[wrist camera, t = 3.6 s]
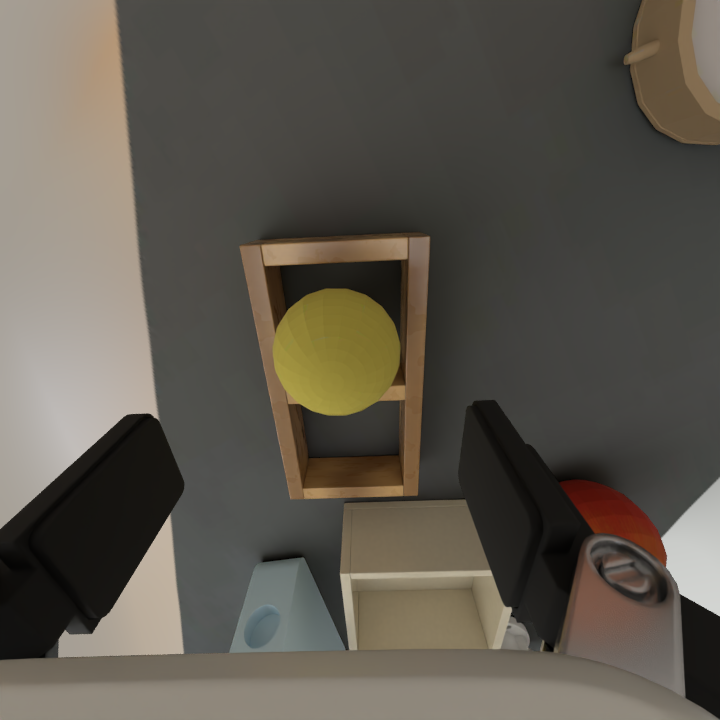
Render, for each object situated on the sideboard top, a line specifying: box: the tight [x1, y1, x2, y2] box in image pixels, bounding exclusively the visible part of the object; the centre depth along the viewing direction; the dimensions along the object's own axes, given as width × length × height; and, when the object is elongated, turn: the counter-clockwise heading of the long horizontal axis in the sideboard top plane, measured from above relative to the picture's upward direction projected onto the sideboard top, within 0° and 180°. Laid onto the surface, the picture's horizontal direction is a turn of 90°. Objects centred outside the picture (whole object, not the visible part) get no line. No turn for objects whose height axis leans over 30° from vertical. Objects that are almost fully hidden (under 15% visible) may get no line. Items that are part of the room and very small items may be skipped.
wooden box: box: [340, 499, 512, 650], centre depth 31 cm, size 15×15×7 cm
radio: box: [229, 557, 345, 653], centre depth 34 cm, size 23×6×13 cm, turn 12°
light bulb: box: [272, 289, 400, 415], centre depth 18 cm, size 7×7×10 cm
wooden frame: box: [240, 232, 430, 499], centre depth 23 cm, size 11×20×4 cm, turn 3°
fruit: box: [559, 479, 667, 567], centre depth 26 cm, size 10×10×10 cm
